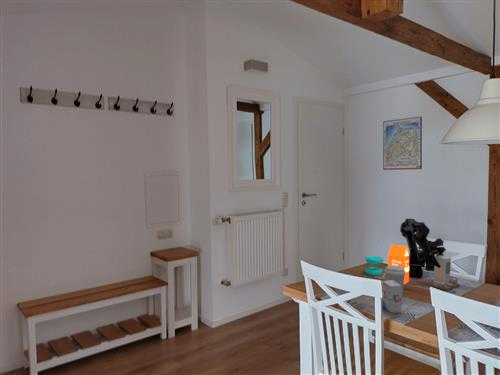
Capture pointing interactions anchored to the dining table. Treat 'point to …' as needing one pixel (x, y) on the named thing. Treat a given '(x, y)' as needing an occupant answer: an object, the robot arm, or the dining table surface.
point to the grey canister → (395, 275)
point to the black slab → (430, 265)
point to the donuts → (374, 270)
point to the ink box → (392, 296)
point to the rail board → (446, 285)
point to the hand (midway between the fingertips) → (442, 266)
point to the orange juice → (399, 259)
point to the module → (442, 269)
